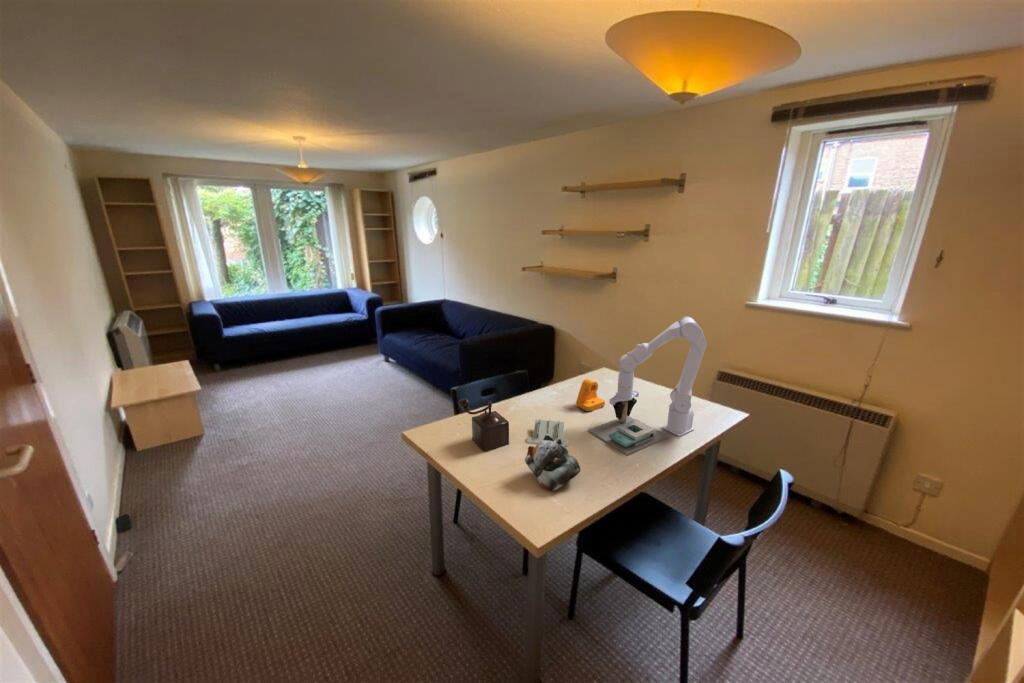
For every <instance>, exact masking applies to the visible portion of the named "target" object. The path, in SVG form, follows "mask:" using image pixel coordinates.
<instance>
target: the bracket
mask: <svg viewBox="0 0 1024 683" xmlns="http://www.w3.org/2000/svg"><path fill="white" fill-rule="evenodd" d="M598 389H599V384H598V382H596V381H595V380H592V379H590V378H585V379H583V381H582V383H581V385H580V389H579V392H578V395H577V398H576V402H575V406H577V407H579V408H580V409H582V410H585V411H586V412H587V411H588V412H589V411H590V412H594V411H597V410H600V409H602V407H604V406H605V402H606V400H604V399H602V398H600V397H599V396H598V394H597V391H598Z"/></svg>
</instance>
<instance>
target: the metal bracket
mask: <svg viewBox="0 0 1024 683" xmlns="http://www.w3.org/2000/svg"><path fill="white" fill-rule="evenodd" d="M564 426H565V422H564V421H561V420H556V421H555V420H551V419H548V420H545V419H544V420H543V419H541V418H540V419H535V422H534V427H533V433H532V434H533V435H532V437H531V436H527V437H526V442H525V443H526V444H528V445H538V444H539V443H540V442H541V441H543V439H544V437H545V436H546V435H548V436H550V437H551V438H552V439H553V440H556V439H557V438H560V439H561V441H562V444H563V445H564V446H565V447H566V448H567V447H568V443H569V441H568V440H565V439H564V438H563V437H564Z"/></svg>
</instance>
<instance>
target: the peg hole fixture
mask: <svg viewBox="0 0 1024 683" xmlns="http://www.w3.org/2000/svg"><path fill="white" fill-rule="evenodd" d="M617 430H618V431H616V432H613V433H611V434H609V438H611V439H613V440H614V441H616V442H618V443H620V444H621V445H623V446H625V447H627V446H629V445H632V446H633V447H637V446H639V445H642V444H644V443H646V442H649V441H651V440H653V439H655V431H656V428H654V427H653V426H650V425H648V424H646V423H644V422H643V421H640V420H639V419H635V420H633V421H631V422H628V423H626V424H623V425H620V426H618V427H617Z"/></svg>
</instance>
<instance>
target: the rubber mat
mask: <svg viewBox="0 0 1024 683" xmlns="http://www.w3.org/2000/svg"><path fill="white" fill-rule="evenodd" d="M633 420H636V419H635V418H633V417H631V416H630V415H629V416H627V419H626V423H628V422H631V421H633ZM618 421H619V419H618V418H615V419H613V420H610V421H607V422H604V423H603V424H600V425H596V426H594V427H591V428H588V429H587V432H588V433H590V434H592V435H593V436H595V437H597V438H598V439H600V440H601V441H603V442H604V443H606V444H608V445H609V446H611V447H613V448H615V449H616V450H617V451H619V452H621V453H622V454H624V455H626V456H630V455H632V454H635V453H636V452H638V451H639V452H640V451H641V450H643V449H646V448H648V447H650V446H652V445H655V444H657V443H659V442H661V441H663V440H666V439H668V438H669V435H667V434H664V433H663V432H661V431H659V430H656V431H655V439H653V440H651V441H649V442H646V443H644V444H642V445H639V446H637V447H633V446H632V445H629V446H627V447H625V446H623V445H621V444H620V443H618V442H616V441H614V440H613V439H611V438H609V434H611V433H613V432H616V431H618V430H617V427H618V426H620V425H623V424H621V423H619V422H618ZM626 423H625V424H626Z"/></svg>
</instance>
